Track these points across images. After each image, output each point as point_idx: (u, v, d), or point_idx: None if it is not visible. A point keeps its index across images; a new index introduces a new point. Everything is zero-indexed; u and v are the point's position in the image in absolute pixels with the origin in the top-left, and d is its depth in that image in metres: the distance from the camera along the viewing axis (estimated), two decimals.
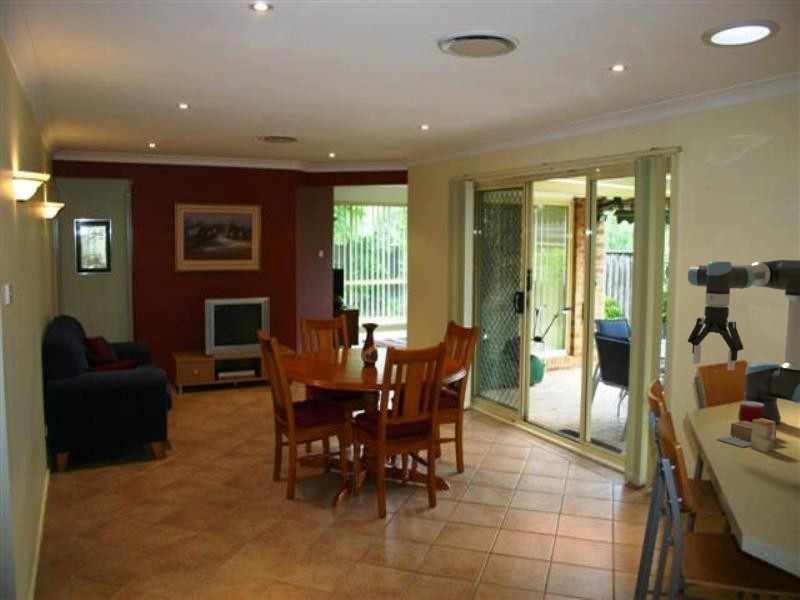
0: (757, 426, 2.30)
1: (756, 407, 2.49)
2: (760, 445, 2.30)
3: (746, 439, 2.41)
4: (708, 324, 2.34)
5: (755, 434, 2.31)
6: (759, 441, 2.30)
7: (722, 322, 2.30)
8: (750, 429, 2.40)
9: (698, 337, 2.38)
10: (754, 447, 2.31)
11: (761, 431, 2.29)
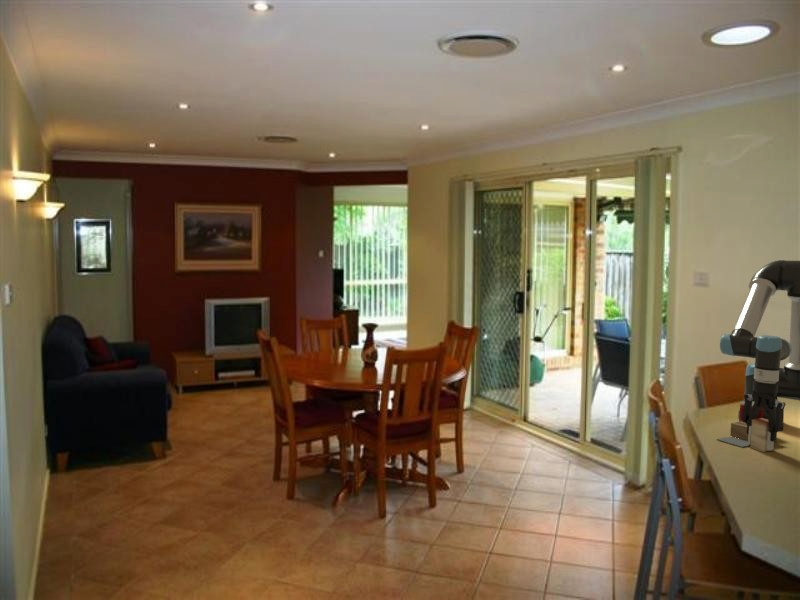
0: (757, 426, 2.31)
1: None
2: (760, 445, 2.30)
3: (746, 439, 2.41)
4: (756, 399, 2.31)
5: (755, 434, 2.31)
6: (759, 441, 2.30)
7: (772, 399, 2.27)
8: None
9: (751, 416, 2.34)
10: (754, 447, 2.32)
11: (761, 431, 2.29)
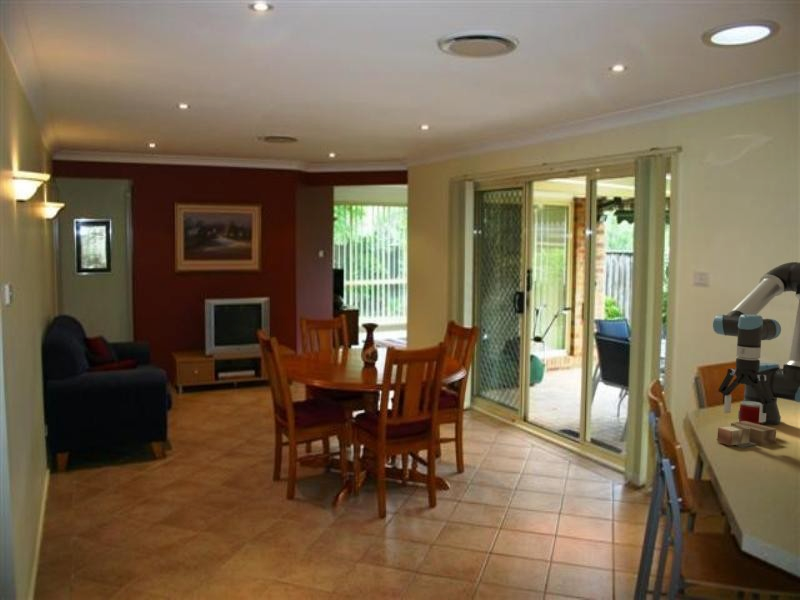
0: None
1: (756, 407, 2.49)
2: None
3: None
4: (739, 376, 2.39)
5: None
6: None
7: (753, 375, 2.35)
8: (750, 429, 2.40)
9: (729, 388, 2.44)
10: None
11: None
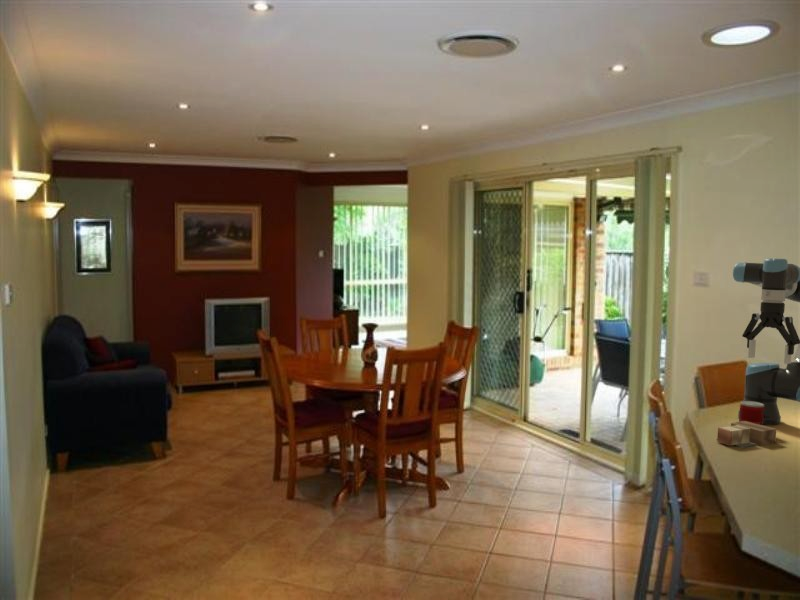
0: None
1: (756, 407, 2.49)
2: None
3: None
4: (764, 319, 2.42)
5: None
6: None
7: (779, 317, 2.38)
8: (750, 429, 2.40)
9: (753, 332, 2.46)
10: None
11: None
